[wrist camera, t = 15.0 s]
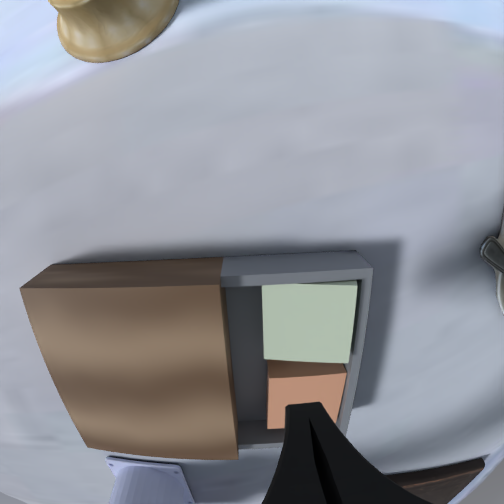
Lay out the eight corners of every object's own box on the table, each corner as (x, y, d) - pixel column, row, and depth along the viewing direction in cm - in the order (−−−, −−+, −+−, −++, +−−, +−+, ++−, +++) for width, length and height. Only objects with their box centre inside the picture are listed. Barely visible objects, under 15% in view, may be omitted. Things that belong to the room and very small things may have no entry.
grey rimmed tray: (336, 413, 24) (344, 439, 21) (238, 421, 24) (238, 449, 21) (355, 250, 19) (373, 267, 16) (223, 256, 19) (220, 276, 16)
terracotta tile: (267, 428, 21) (265, 410, 23) (335, 423, 21) (330, 405, 23) (269, 378, 19) (267, 359, 21) (346, 372, 19) (339, 355, 21)
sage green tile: (263, 358, 19) (269, 340, 21) (348, 363, 18) (347, 344, 19) (261, 282, 17) (267, 268, 19) (357, 285, 16) (354, 271, 18)
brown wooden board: (238, 421, 24) (238, 459, 20) (101, 414, 23) (87, 447, 20) (223, 256, 19) (219, 284, 15) (51, 264, 19) (19, 288, 15)
